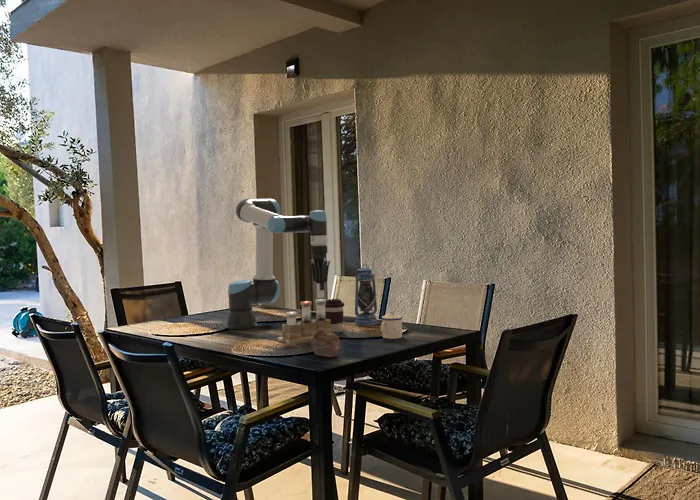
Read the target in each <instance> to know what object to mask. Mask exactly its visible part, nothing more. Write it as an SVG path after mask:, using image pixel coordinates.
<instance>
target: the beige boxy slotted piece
mask: <svg viewBox="0 0 700 500" xmlns="http://www.w3.org/2000/svg"><path fill="white" fill-rule="evenodd" d="M320 330H322V331H324V333H326V334H327V335H331V334H334V335H336V336H337V333H331V320H328V319H326V320H325V321H317V318H316V319H311V323H302V321H296V325H292V326H288V325H287V323H285V324H284V323H282V324H281V335H282V336H279V337H277V341H278V342H280V341H281V343H284V342H286V343H285V344H288V343H290V344H289V345H293V344H294V345H298V344H297V343H300V344H304V343H303V342H305V343H309V341H311V342H312V339H313V337H314V335H315V334H316V333H317V332H319V331H320Z"/></svg>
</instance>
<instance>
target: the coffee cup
mask: <svg viewBox="0 0 700 500" xmlns="http://www.w3.org/2000/svg"><path fill="white" fill-rule="evenodd" d="M325 300H326V303H325V315H326V319H328V320H331V333H334V334H336V333H341V332H342V331H343V323H344V307H345V302H343V301H342V300H341V299H340V298H329V299H325ZM335 332H336V333H335Z"/></svg>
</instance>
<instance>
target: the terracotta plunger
mask: <svg viewBox="0 0 700 500" xmlns="http://www.w3.org/2000/svg"><path fill="white" fill-rule="evenodd" d="M312 303H313V302H312V301H311V300H310V301H309V300H306V301H305V300H304V301H300V306H301V322H302V323H311V321H312V305H313V304H312Z"/></svg>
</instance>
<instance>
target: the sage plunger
mask: <svg viewBox="0 0 700 500" xmlns="http://www.w3.org/2000/svg"><path fill="white" fill-rule="evenodd" d="M326 300H327V299H324V298H322V299H320V298H319V299H315V300H314V304H315V307H316V308H315V309H316V319H317V321H325V320H326V315H325V303H326Z"/></svg>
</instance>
